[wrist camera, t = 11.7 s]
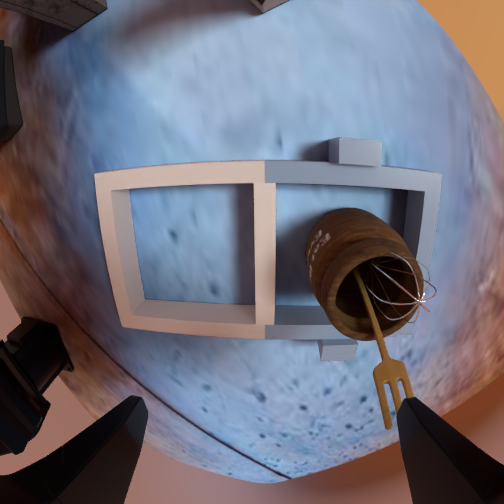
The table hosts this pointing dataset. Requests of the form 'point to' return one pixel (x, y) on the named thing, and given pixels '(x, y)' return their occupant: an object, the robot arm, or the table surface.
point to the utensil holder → (366, 287)
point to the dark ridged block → (8, 96)
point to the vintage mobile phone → (266, 4)
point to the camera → (58, 10)
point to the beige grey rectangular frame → (257, 241)
